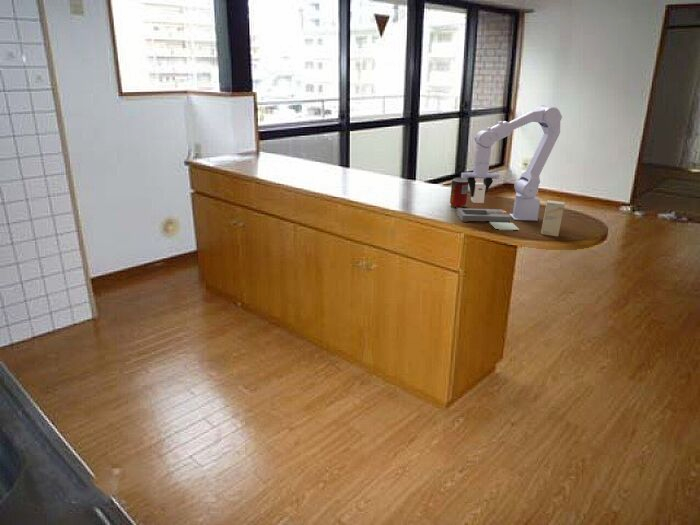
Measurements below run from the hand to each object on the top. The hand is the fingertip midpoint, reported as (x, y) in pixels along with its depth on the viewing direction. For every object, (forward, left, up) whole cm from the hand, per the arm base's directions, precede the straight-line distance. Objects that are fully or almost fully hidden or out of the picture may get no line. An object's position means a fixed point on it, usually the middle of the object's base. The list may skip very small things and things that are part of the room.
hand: (477, 196), depth 204 cm
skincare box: (-23, +19, -9) cm, 32 cm away
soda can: (+4, -18, -9) cm, 20 cm away
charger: (0, 0, -2) cm, 2 cm away
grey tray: (-3, 0, -9) cm, 9 cm away
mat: (-8, +12, -9) cm, 17 cm away
